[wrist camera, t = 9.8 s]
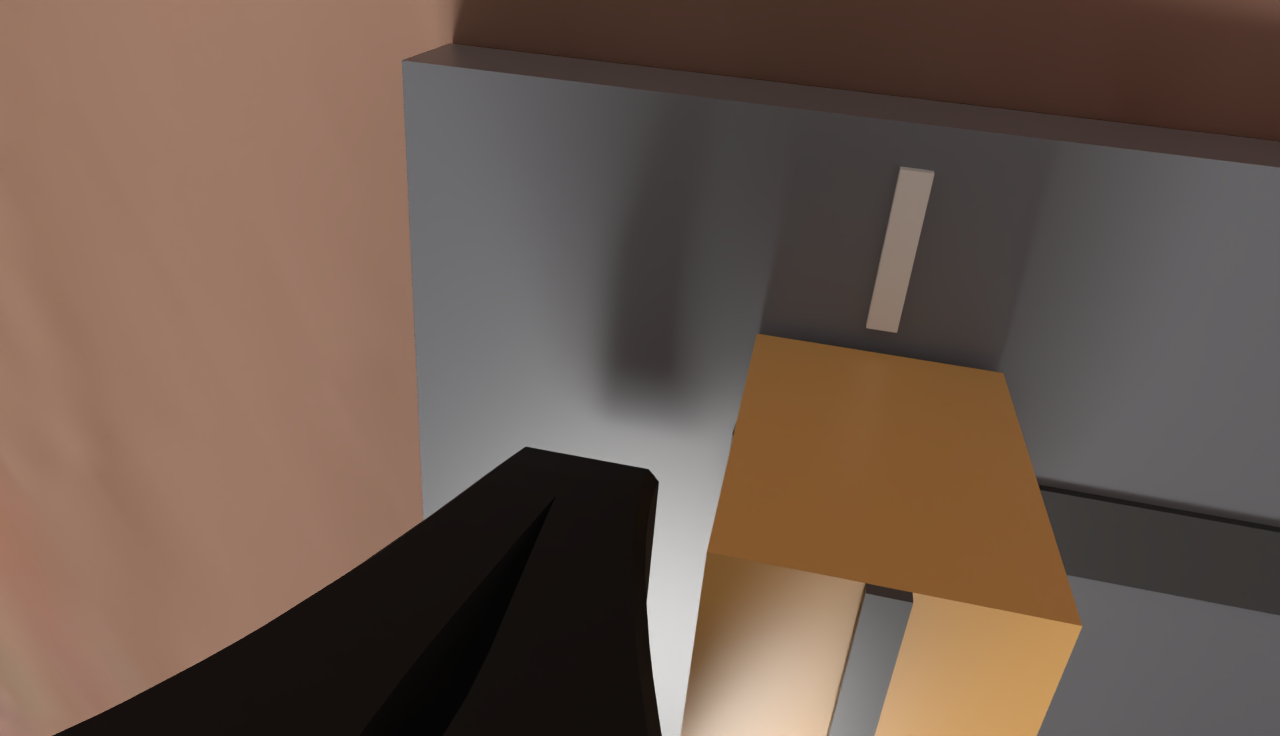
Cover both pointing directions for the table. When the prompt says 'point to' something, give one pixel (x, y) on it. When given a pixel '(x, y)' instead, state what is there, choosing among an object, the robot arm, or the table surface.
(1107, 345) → the console
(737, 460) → the orange fader
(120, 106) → the table surface
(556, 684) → the robot arm
